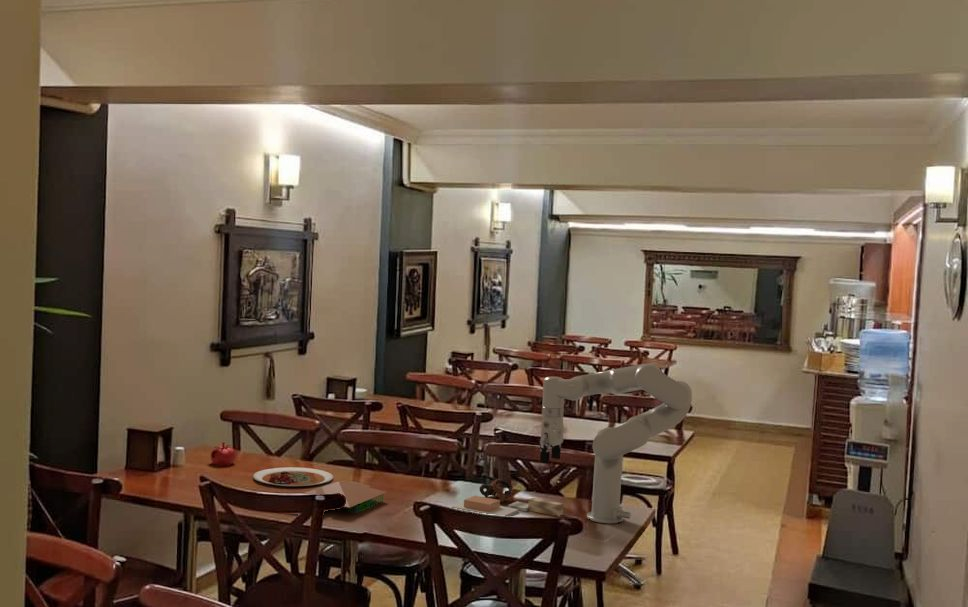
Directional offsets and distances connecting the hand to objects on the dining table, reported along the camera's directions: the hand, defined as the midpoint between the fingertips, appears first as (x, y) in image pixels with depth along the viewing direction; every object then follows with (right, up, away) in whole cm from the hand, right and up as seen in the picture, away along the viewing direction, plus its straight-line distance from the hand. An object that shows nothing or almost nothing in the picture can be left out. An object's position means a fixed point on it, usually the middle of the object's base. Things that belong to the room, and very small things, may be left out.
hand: (550, 460), depth 322 cm
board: (-23, -17, -2) cm, 29 cm away
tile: (-20, -15, -4) cm, 25 cm away
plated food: (-96, -13, +30) cm, 102 cm away
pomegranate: (-129, -10, +48) cm, 138 cm away
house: (-74, -15, -3) cm, 75 cm away
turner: (-5, -18, +2) cm, 19 cm away
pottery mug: (-21, -18, +15) cm, 31 cm away
